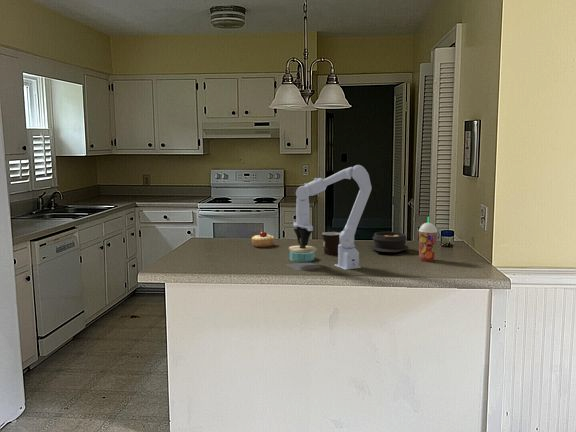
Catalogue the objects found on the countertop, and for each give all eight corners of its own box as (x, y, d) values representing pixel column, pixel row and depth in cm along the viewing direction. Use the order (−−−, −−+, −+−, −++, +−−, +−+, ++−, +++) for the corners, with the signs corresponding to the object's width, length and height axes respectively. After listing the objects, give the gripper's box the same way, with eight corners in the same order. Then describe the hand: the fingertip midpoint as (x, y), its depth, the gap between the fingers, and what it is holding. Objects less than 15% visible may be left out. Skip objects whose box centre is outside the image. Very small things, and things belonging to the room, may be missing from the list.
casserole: (407, 256, 257) (407, 239, 256) (367, 254, 262) (367, 237, 261) (410, 246, 281) (410, 230, 280) (373, 245, 286) (373, 229, 285)
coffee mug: (338, 256, 259) (339, 235, 258) (320, 255, 261) (320, 234, 259) (341, 251, 270) (341, 231, 269) (324, 250, 272) (324, 230, 271)
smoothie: (424, 257, 255) (425, 214, 252) (440, 260, 249) (441, 216, 246) (414, 260, 249) (415, 216, 246) (430, 263, 243) (431, 218, 241)
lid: (321, 251, 236) (321, 239, 235) (296, 253, 230) (296, 241, 230) (308, 246, 246) (308, 235, 246) (284, 248, 241) (284, 236, 240)
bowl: (318, 260, 250) (318, 252, 249) (296, 263, 245) (296, 254, 244) (307, 256, 260) (307, 247, 259) (285, 258, 255) (285, 250, 254)
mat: (322, 268, 235) (322, 267, 235) (296, 271, 230) (296, 270, 230) (309, 262, 246) (309, 261, 246) (284, 265, 241) (284, 264, 241)
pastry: (257, 250, 278) (256, 232, 276) (248, 245, 288) (247, 228, 287) (278, 246, 283) (278, 230, 282) (268, 242, 294) (268, 226, 292)
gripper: (287, 212, 241) (287, 243, 243) (302, 216, 228) (302, 248, 230) (301, 211, 244) (301, 241, 246) (317, 215, 231) (317, 247, 233)
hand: (302, 245), depth 238 cm, fingers closed on lid, 3 cm apart
